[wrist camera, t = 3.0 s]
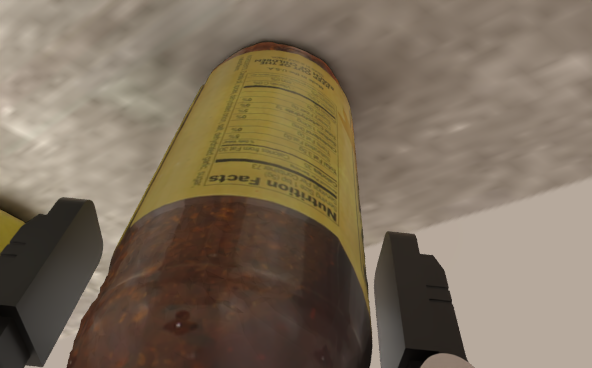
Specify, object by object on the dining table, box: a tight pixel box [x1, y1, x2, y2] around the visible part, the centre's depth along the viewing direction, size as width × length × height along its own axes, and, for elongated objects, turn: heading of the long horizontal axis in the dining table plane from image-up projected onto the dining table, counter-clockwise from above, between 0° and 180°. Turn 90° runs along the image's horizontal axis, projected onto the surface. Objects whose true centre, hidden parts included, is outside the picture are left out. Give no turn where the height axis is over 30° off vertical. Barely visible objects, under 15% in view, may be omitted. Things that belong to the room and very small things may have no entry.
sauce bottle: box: [67, 42, 372, 368], centre depth 12 cm, size 7×6×20 cm
